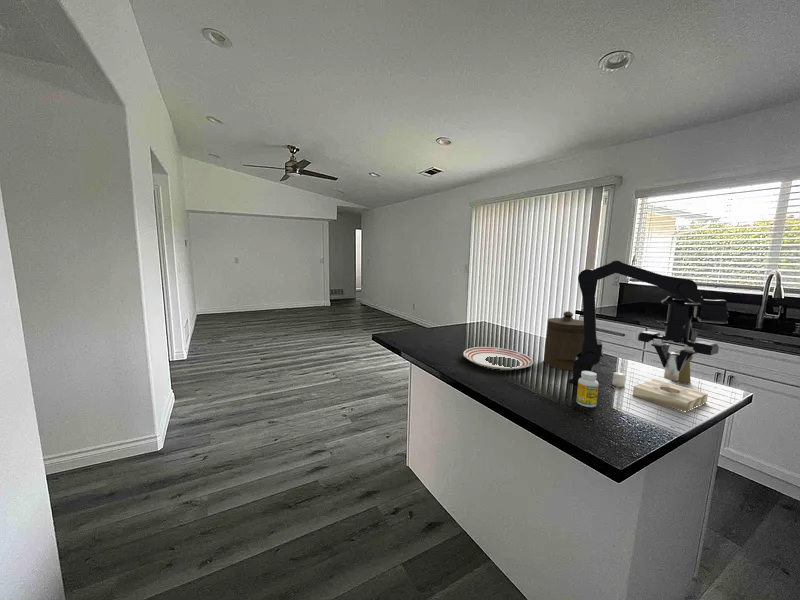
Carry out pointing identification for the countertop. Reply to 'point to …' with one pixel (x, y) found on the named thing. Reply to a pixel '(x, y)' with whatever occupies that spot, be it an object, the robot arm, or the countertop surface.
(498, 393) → the countertop surface
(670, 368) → the tall steel pin
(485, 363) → the dinner plate
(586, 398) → the supplement bottle
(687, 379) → the cork
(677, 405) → the hole board
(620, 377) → the short cream pin
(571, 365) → the wooden container
